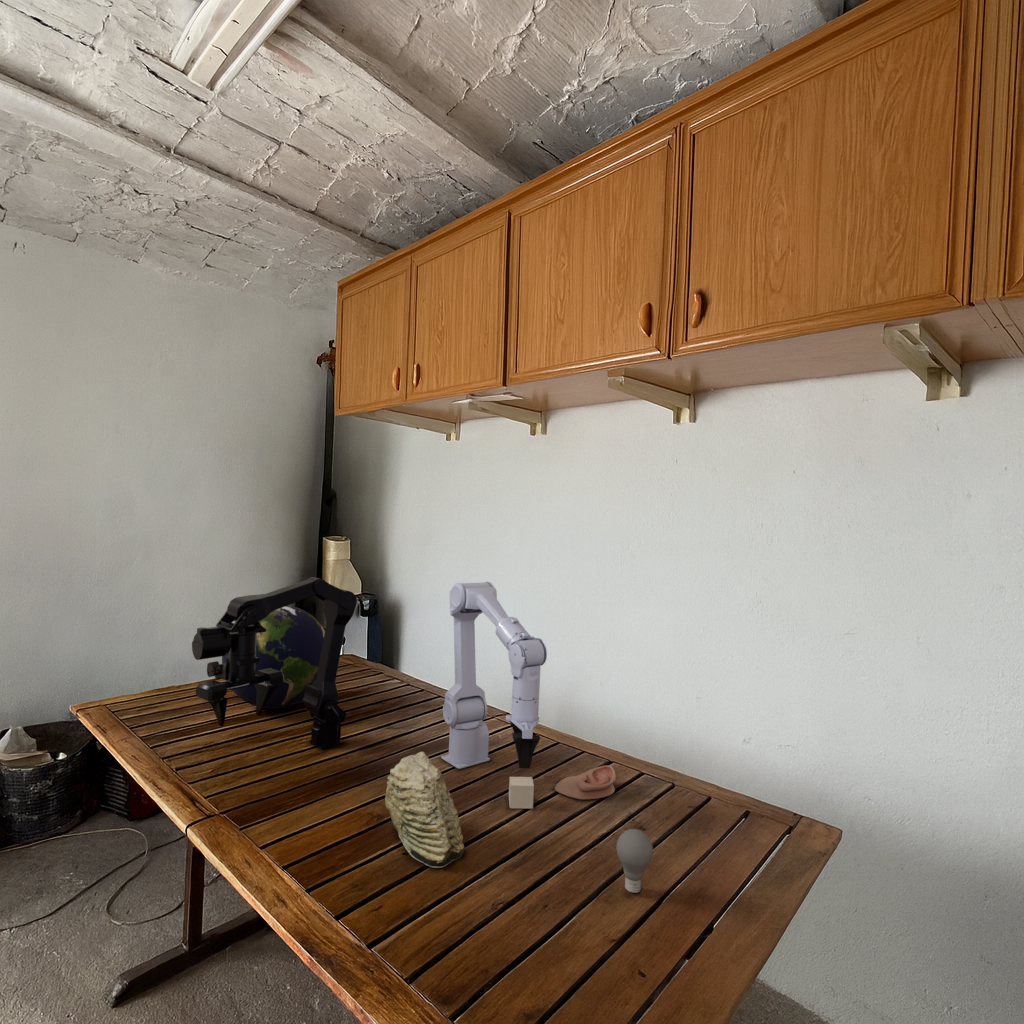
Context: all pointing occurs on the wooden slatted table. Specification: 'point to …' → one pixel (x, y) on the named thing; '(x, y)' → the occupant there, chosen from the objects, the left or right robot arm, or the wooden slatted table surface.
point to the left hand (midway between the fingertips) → (240, 720)
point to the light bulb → (634, 857)
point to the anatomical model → (589, 784)
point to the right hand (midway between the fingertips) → (522, 760)
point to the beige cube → (521, 792)
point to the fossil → (424, 812)
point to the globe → (287, 655)
